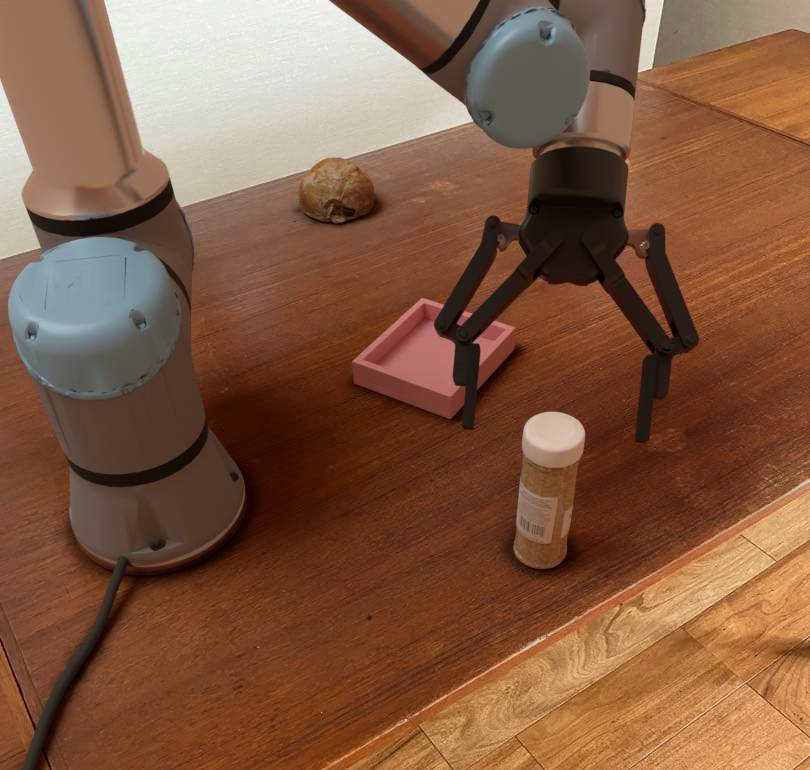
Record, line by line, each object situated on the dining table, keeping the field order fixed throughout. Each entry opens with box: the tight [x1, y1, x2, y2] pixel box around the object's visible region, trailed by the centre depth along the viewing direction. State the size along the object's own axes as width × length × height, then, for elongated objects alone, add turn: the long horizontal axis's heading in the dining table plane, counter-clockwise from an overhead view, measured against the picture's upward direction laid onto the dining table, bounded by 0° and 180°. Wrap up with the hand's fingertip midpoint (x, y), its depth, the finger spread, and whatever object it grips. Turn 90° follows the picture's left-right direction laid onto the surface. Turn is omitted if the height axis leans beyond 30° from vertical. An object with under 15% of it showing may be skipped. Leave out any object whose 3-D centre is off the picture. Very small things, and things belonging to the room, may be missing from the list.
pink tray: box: [351, 297, 517, 420], centre depth 90 cm, size 14×12×3 cm
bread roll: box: [297, 157, 376, 225], centre depth 114 cm, size 10×10×8 cm
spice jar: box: [512, 411, 586, 570], centre depth 68 cm, size 5×5×14 cm
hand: (553, 435), depth 68 cm, fingers open, 13 cm apart
